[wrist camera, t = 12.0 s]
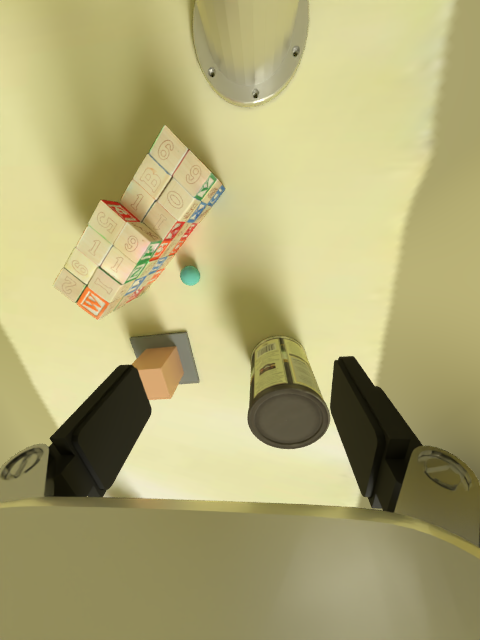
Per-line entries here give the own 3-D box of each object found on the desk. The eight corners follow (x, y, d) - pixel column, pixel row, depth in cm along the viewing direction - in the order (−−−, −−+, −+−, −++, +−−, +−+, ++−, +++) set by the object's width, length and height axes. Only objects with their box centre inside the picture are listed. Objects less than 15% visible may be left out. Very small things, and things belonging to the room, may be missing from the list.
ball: (196, 280, 33) (193, 292, 35) (204, 268, 34) (200, 280, 37) (178, 270, 32) (175, 283, 35) (187, 258, 34) (184, 271, 36)
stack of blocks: (192, 152, 30) (151, 106, 18) (226, 189, 31) (208, 166, 20) (114, 268, 37) (49, 286, 25) (144, 294, 38) (96, 322, 27)
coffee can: (285, 391, 43) (296, 460, 30) (240, 366, 42) (232, 427, 29) (319, 353, 40) (348, 414, 27) (271, 324, 38) (278, 374, 25)
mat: (130, 337, 41) (129, 338, 41) (186, 331, 40) (186, 333, 40) (148, 384, 45) (147, 386, 45) (199, 381, 44) (198, 382, 44)
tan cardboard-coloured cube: (146, 348, 41) (125, 371, 35) (176, 346, 41) (160, 368, 34) (155, 375, 44) (137, 400, 37) (184, 373, 43) (170, 398, 36)
